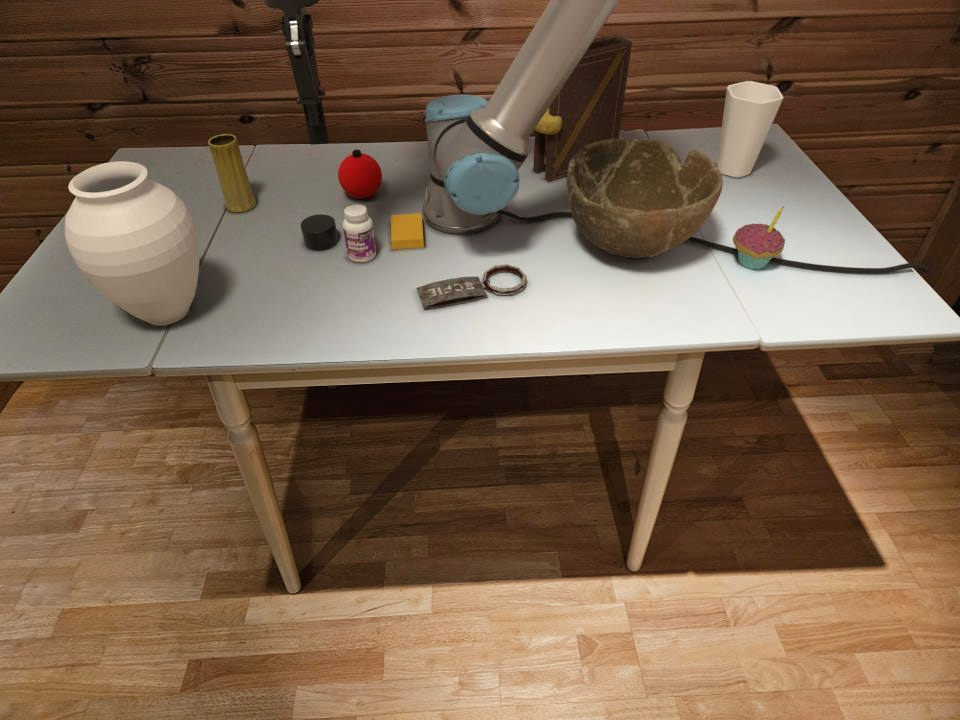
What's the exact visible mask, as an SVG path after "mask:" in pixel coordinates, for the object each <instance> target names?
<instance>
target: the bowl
mask: <svg viewBox="0 0 960 720" xmlns="http://www.w3.org/2000/svg"><path fill="white" fill-rule="evenodd" d="M723 180H724V179H723V174H721V172H720V170H719V169H718V168H717V164H716V163H715V162H714V161H713V160H712V158H711V157H710V156H708V155H707V154H705V153H703V152H701V151H700V150H697V149H690V151H688V154H687V155H686V158H685V160H684V165H682V159H681V158H680V156H679V155H678V154H677V152H676V150H675V149H674V148H673V147H671V146H669V145H668V144H665V142H663V141H660V140H657V139H656V140H655V139H646V138H632V140H630V142H629V140H627V139H625V138H620V137H619V138H613V139H608V140H602V141H598V142H593V143H591V144H589V145H587V146H585V147H583V148H582V149H581V150H579V153H578V154H576V155H575V156H574V157H573V158H572V159H571V160H570V162H569V166H568V172H567V176H566V190H567V199H568V205H569V210H570V212H571V213H572V216H573V217H572V218H573V221H574V223H575V224H576V226H577V228H578V230H579V231H580V232H581V233H582V234H583V236H585V238H586V239H587V240H589V241H590V243H592V244H593V245H594V246H596V247H597V248H599V249H601V250H603V251H604V252H607V253H608V254H611V255H614V256H618V257H623V258H624V257H625V258H637V259H639V258H646V257H650V258H651V257H654V258H655V257H658V256H660V255H662V254H664V253H666V252H667V251H668V250H671V249H673V248H675V247H677V246H679V245H681V244H683V243H684V242H686V241H688V240H687V239H689V238H690V237H691V236H692V237H694V235H696V233H697V232H699V230H700V229H701V228H702V227H703V225H704V224H705V223H706V221H707V220H708V218H709V216H710V215H711V213H712V212H713V210H714V209H715V206H716V204H717V203H718V201H719V198H720V197H721V193H722V191H723V185H724V181H723Z"/></svg>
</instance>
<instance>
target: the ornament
mask: <svg viewBox="0 0 960 720" xmlns="http://www.w3.org/2000/svg"><path fill="white" fill-rule="evenodd" d="M337 177H338V178H337V179H338V182H339V185H340V187H341V189H342V190H343V191H344V192H345V193H346V194H347V195H349V196H350V197H353V198H355V199H365V198H369V197H372V196H374V195H375V194H376V193H377V191H378V190H379V189H380V187H381V186H382V181H383V171H382V168H381V166H380V164H379V163H378V161H377V160H376V159H375V158H374V157H373V156H371V155H369V154H367V153H363V152H362V151H361V150H360V149H357V148H356V149H353V150H352V151H351V154H349V155H347V156H346V157H345V158H343V160H342V161H341V163H340V164H339V167H338V169H337Z"/></svg>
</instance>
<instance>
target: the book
mask: <svg viewBox="0 0 960 720" xmlns="http://www.w3.org/2000/svg"><path fill="white" fill-rule="evenodd" d="M632 44H633V41H632V40H630V39H629V38H626V37H624V36H621V35H616V34H611V35H604V36H601V37H595V39H594V40H593V42H592V43H591V45H590V46H589V48H588V49H587V51H586V52H585V54H584V55H583V57H582V58H581V60H580V61H579V63H578V64H577V66H576V67H575V69H574V70H573V72H572V73H571V75H570V76H569V78H568V79H567V81H566V82H565V84H564V85H563V87H562V88H561V90H560V91H559V93H558V94H557V96H556V97H555V99H554V100H553V102H552V103H551V105H550V106H549V108H548V109H547V111H546V112H545V114H544V116H543V117H542V119H541V120H540V122H539V123H538V125H537V126H536V128H535V129H534V145H533V147H534V148H533V167H532V168H533V169H532V171H533V172H534V173H535V174H539V173H542V172H544V180H545V181H546V182H554V181H556V180H559V179H562V178H563V179H564V178H565V177H566V178H567V172H568V166H569V162H570V160H571V159H572V158H573V157H574V156H575V155H576V154H578V153H579V150H581V149H582V148H583V147H585V146H587V145H589V144H591V143H593V142H598V141H602V140H608V139H613V138H619V139H620V133H621V132H620V131H621V125H622V118H623V111H624V103H625V96H626V88H627V83H628V82H627V81H628V75H629V74H628V73H629V68H630V67H629V66H630V61H631V52H632Z"/></svg>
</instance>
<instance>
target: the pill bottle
mask: <svg viewBox="0 0 960 720" xmlns="http://www.w3.org/2000/svg"><path fill="white" fill-rule="evenodd" d="M343 214H344V219H343V221H342V231H343V238H344V243H345V248H346V253H347V257H348V259H349V260H351V261H352V262H356V263H367V262H369V261H372V260H374V258H375V257H376V255H377V247H376V239H375V231H374V223H373V220H372V218H371V217H370V216H368V214H369V213H368V209H367V207H366V205H363V204H359V203H356V204H355V203H354V204H350V205H348V206H346V207H345V208H344V212H343Z"/></svg>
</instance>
